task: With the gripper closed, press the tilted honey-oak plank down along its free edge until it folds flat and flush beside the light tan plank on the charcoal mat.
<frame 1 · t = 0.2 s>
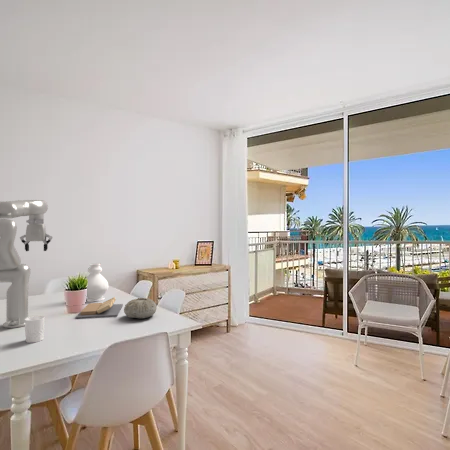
hand: (36, 250, 190), 37 cm above the table, tool pointing down, fingers open, 9 cm apart
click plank: (106, 305, 192), point 4 cm above the table, hinge at 25.0°
decorative vase: (95, 299, 223), on the table
white cup: (34, 340, 143), on the table
floor board: (100, 311, 191), on the table
decorative shell: (140, 317, 180), on the table
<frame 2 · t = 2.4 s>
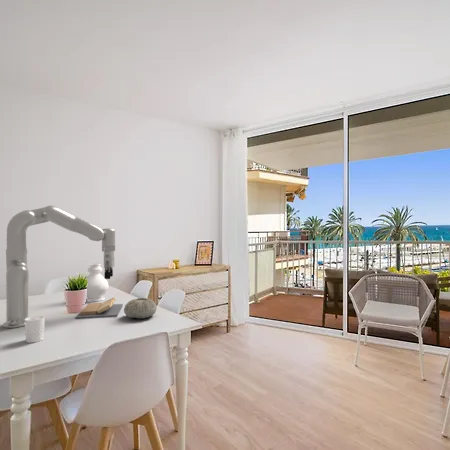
hand: (108, 277, 192), 20 cm above the table, tool pointing down, fingers open, 8 cm apart
nothing on the table moved.
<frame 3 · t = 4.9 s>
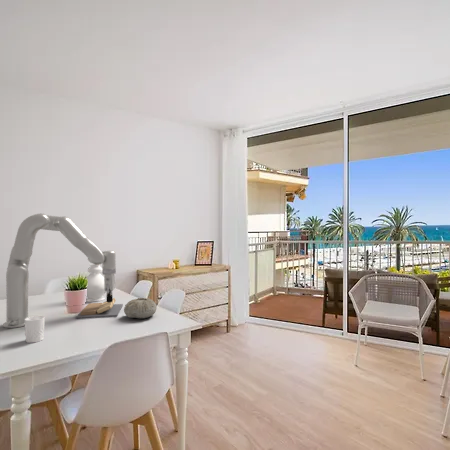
hand: (109, 301, 192), 6 cm above the table, tool pointing down, fingers closed
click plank: (106, 305, 192), point 4 cm above the table, hinge at 21.4°, touching gripper
everything else where it was.
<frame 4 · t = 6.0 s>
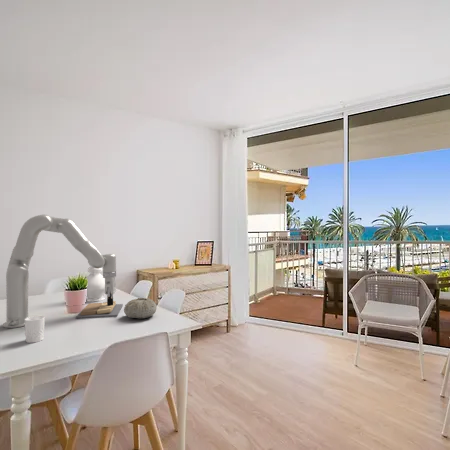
hand: (110, 304, 192), 4 cm above the table, tool pointing down, fingers closed
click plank: (106, 307, 192), point 2 cm above the table, hinge at 5.3°, touching gripper
everything else where it was.
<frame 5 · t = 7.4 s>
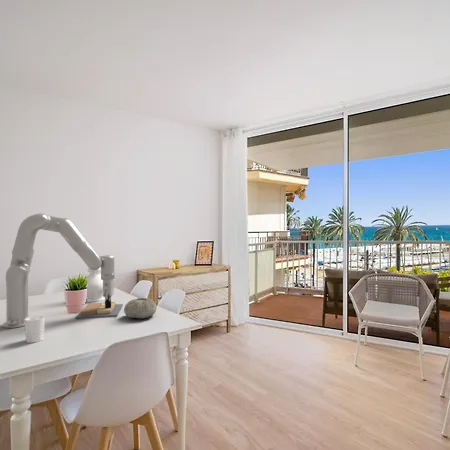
hand: (108, 307, 188), 3 cm above the table, tool pointing down, fingers closed
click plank: (106, 307, 192), point 2 cm above the table, hinge at 1.9°, touching gripper
everything else where it was.
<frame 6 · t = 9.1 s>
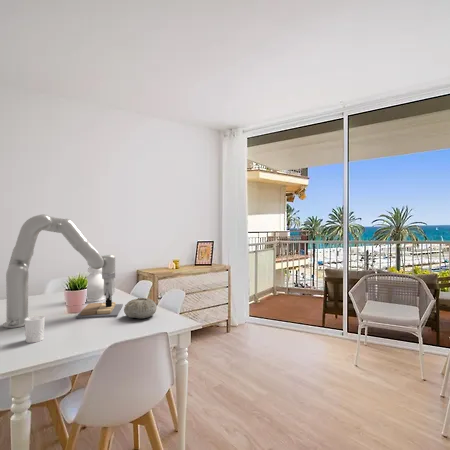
hand: (108, 306, 191), 3 cm above the table, tool pointing down, fingers closed
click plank: (106, 307, 192), point 2 cm above the table, hinge at 0.0°
everything else where it was.
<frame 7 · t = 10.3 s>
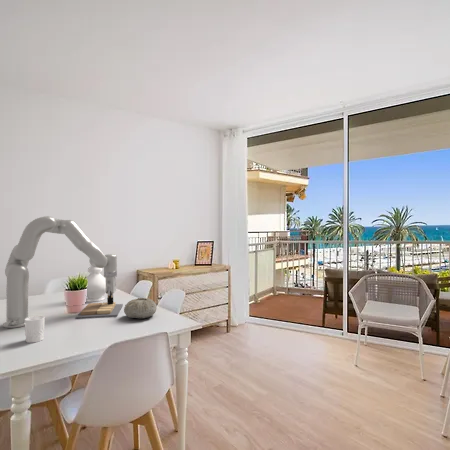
hand: (110, 303, 197), 3 cm above the table, tool pointing down, fingers closed
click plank: (106, 307, 192), point 2 cm above the table, hinge at -0.1°, touching gripper
everything else where it was.
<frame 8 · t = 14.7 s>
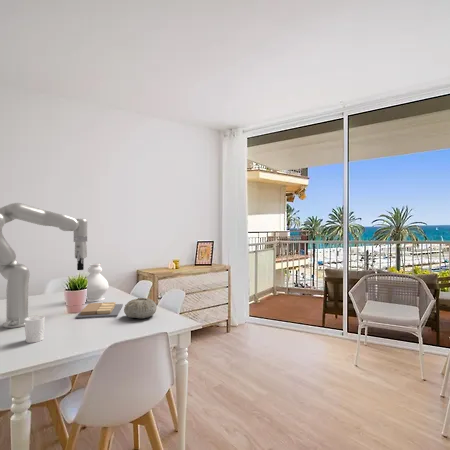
hand: (80, 269, 191), 25 cm above the table, tool pointing down, fingers closed
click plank: (106, 307, 192), point 2 cm above the table, hinge at -0.1°
everything else where it was.
at the end: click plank at +0° (first picture: +25°) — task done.
